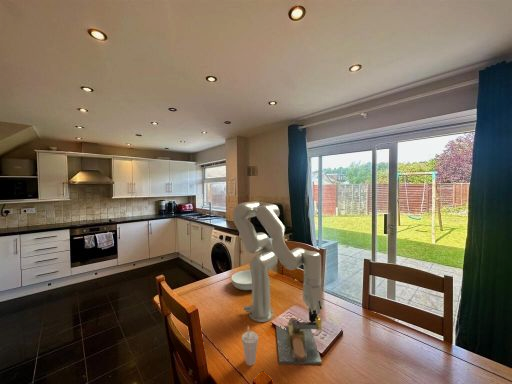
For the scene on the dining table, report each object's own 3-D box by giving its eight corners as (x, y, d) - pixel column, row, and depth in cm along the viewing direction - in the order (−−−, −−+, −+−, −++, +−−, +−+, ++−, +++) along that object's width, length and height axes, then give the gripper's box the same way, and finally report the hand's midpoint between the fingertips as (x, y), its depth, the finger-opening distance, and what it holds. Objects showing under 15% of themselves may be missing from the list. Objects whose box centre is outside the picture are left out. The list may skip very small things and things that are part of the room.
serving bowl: (235, 278, 152) (235, 269, 152) (264, 280, 149) (263, 270, 149) (227, 293, 132) (227, 282, 132) (260, 295, 129) (260, 284, 129)
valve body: (279, 363, 79) (279, 348, 79) (276, 327, 99) (275, 315, 99) (321, 364, 78) (321, 348, 78) (309, 327, 98) (309, 315, 98)
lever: (293, 331, 87) (292, 321, 87) (292, 327, 90) (291, 316, 90) (322, 332, 87) (322, 321, 87) (320, 327, 90) (320, 316, 90)
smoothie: (242, 355, 83) (241, 321, 83) (258, 354, 84) (257, 320, 83) (242, 369, 77) (241, 332, 77) (259, 367, 78) (258, 331, 77)
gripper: (297, 274, 99) (298, 312, 99) (313, 289, 84) (313, 333, 85) (312, 272, 100) (312, 309, 101) (329, 286, 86) (330, 330, 86)
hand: (313, 320), depth 93 cm, fingers closed
